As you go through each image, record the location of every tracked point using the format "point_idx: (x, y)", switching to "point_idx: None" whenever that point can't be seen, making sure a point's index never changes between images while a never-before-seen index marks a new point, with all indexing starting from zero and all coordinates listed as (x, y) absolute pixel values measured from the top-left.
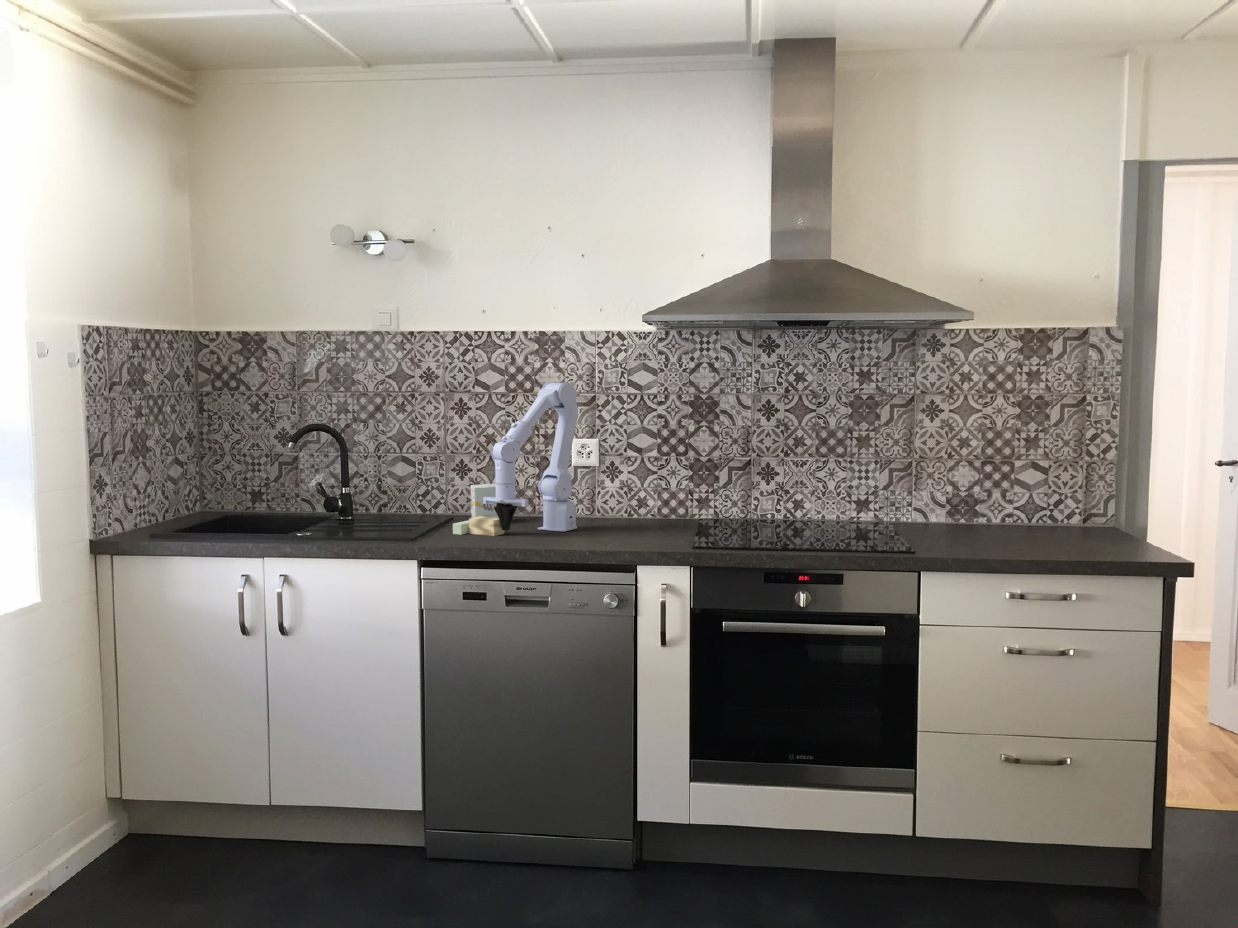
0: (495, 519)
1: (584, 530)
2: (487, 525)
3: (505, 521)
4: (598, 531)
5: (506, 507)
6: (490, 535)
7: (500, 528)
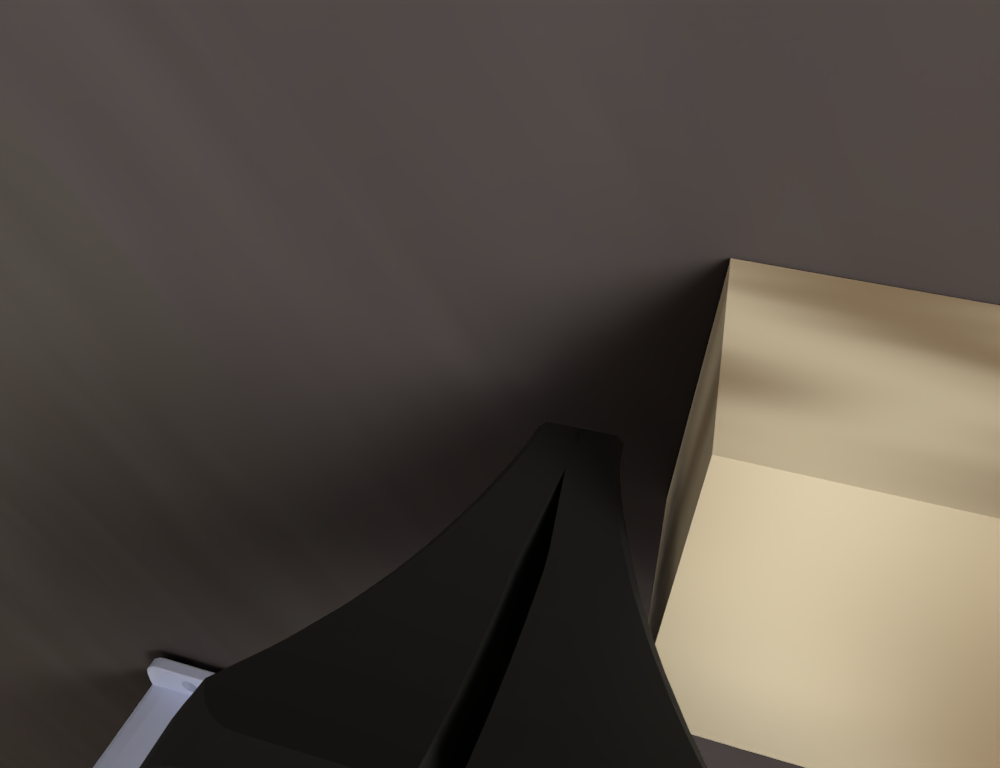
0: (749, 596)
1: (117, 724)
2: (925, 409)
3: (468, 510)
4: (15, 696)
5: (163, 755)
6: (817, 275)
7: (678, 494)
